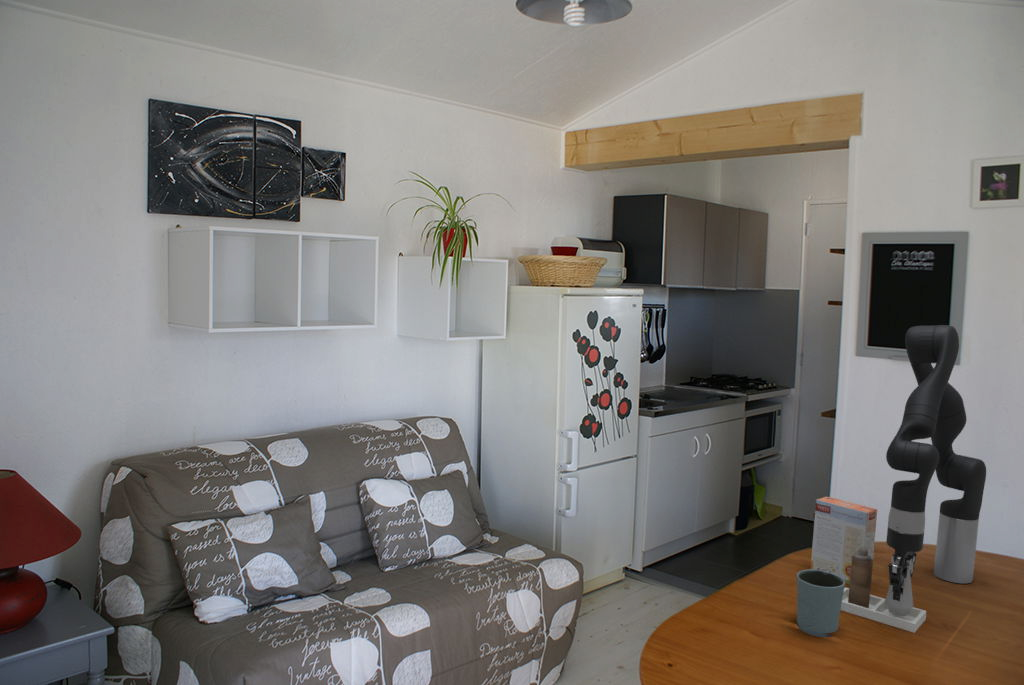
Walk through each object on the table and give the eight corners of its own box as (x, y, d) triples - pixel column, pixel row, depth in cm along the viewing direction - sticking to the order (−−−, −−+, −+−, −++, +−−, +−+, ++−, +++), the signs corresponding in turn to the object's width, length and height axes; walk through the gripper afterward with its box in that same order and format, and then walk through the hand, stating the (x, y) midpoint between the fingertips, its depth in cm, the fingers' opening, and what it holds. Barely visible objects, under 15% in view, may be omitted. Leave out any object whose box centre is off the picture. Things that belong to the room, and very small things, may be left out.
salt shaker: (915, 619, 180) (920, 564, 179) (888, 616, 181) (893, 561, 180) (907, 608, 186) (913, 555, 185) (881, 605, 187) (886, 552, 186)
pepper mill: (851, 601, 193) (856, 542, 191) (871, 607, 190) (876, 547, 188) (845, 606, 189) (850, 547, 188) (865, 613, 186) (870, 552, 185)
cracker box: (871, 587, 204) (878, 508, 202) (860, 592, 201) (867, 512, 198) (820, 570, 215) (827, 494, 213) (809, 575, 211) (815, 498, 209)
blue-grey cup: (839, 623, 182) (843, 573, 181) (842, 643, 173) (846, 590, 171) (792, 615, 185) (796, 566, 184) (793, 634, 176) (797, 582, 175)
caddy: (844, 599, 196) (845, 587, 196) (925, 623, 184) (926, 611, 184) (830, 610, 189) (831, 598, 189) (913, 636, 177) (915, 624, 177)
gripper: (897, 516, 189) (891, 586, 191) (879, 530, 179) (872, 603, 180) (931, 524, 184) (925, 595, 186) (915, 538, 174) (908, 614, 176)
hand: (899, 599), depth 183 cm, fingers closed on salt shaker, 3 cm apart
